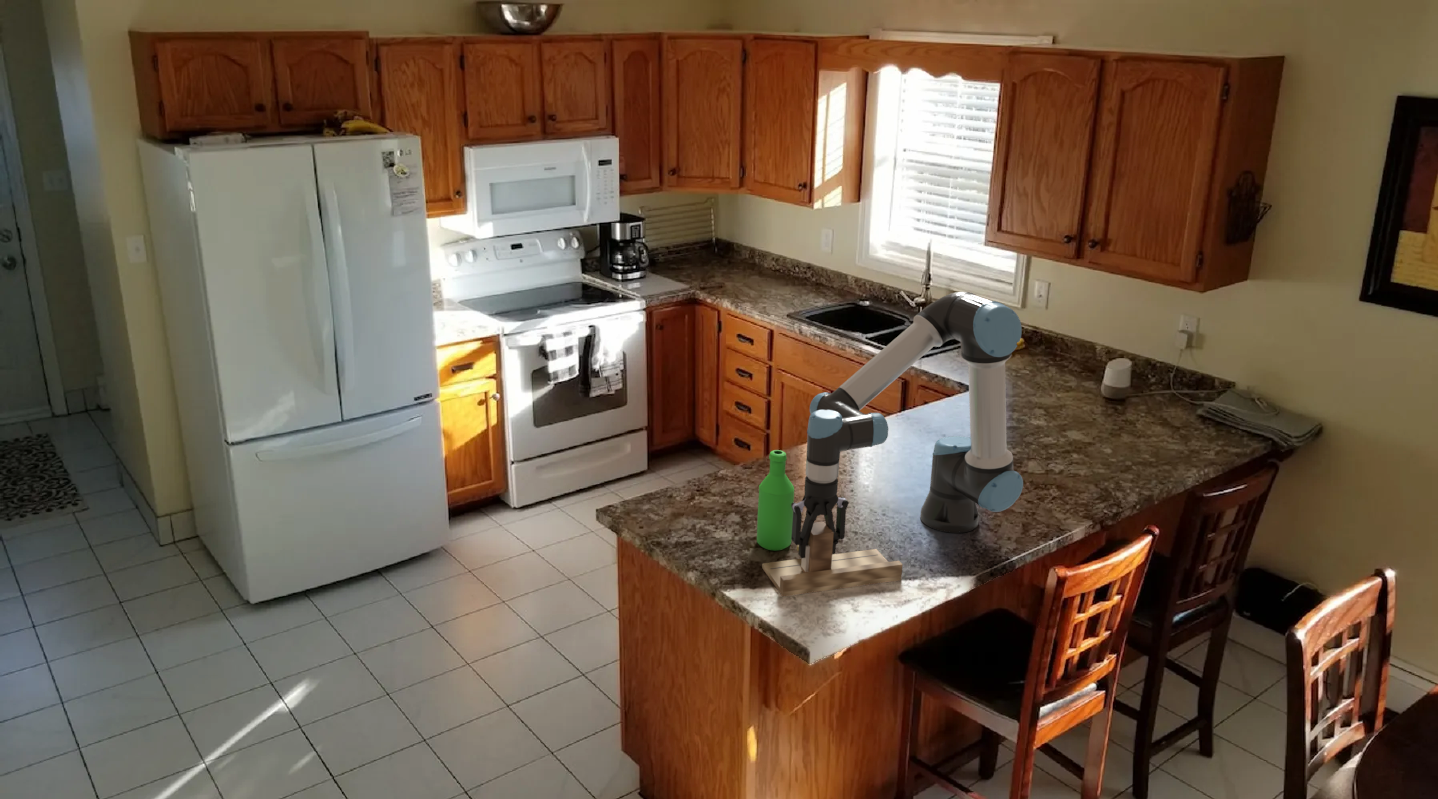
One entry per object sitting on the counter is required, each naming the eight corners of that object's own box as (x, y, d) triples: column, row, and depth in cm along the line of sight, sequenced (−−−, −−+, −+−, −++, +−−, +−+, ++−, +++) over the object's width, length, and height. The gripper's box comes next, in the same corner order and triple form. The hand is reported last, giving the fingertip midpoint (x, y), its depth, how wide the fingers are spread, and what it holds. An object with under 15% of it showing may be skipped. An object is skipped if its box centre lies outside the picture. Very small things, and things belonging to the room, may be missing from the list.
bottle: (751, 538, 273) (754, 447, 265) (782, 534, 276) (787, 443, 268) (764, 554, 266) (768, 461, 257) (796, 549, 268) (801, 457, 260)
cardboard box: (808, 551, 264) (810, 507, 260) (830, 579, 252) (833, 532, 248) (789, 554, 263) (791, 509, 259) (810, 581, 250) (813, 535, 246)
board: (875, 553, 268) (877, 538, 266) (901, 580, 255) (902, 564, 254) (762, 567, 259) (762, 552, 258) (782, 596, 246) (783, 580, 245)
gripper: (851, 466, 251) (844, 555, 259) (778, 474, 246) (774, 564, 254) (864, 479, 245) (857, 570, 253) (790, 487, 239) (785, 580, 247)
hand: (816, 567), depth 253 cm, fingers closed on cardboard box, 5 cm apart
